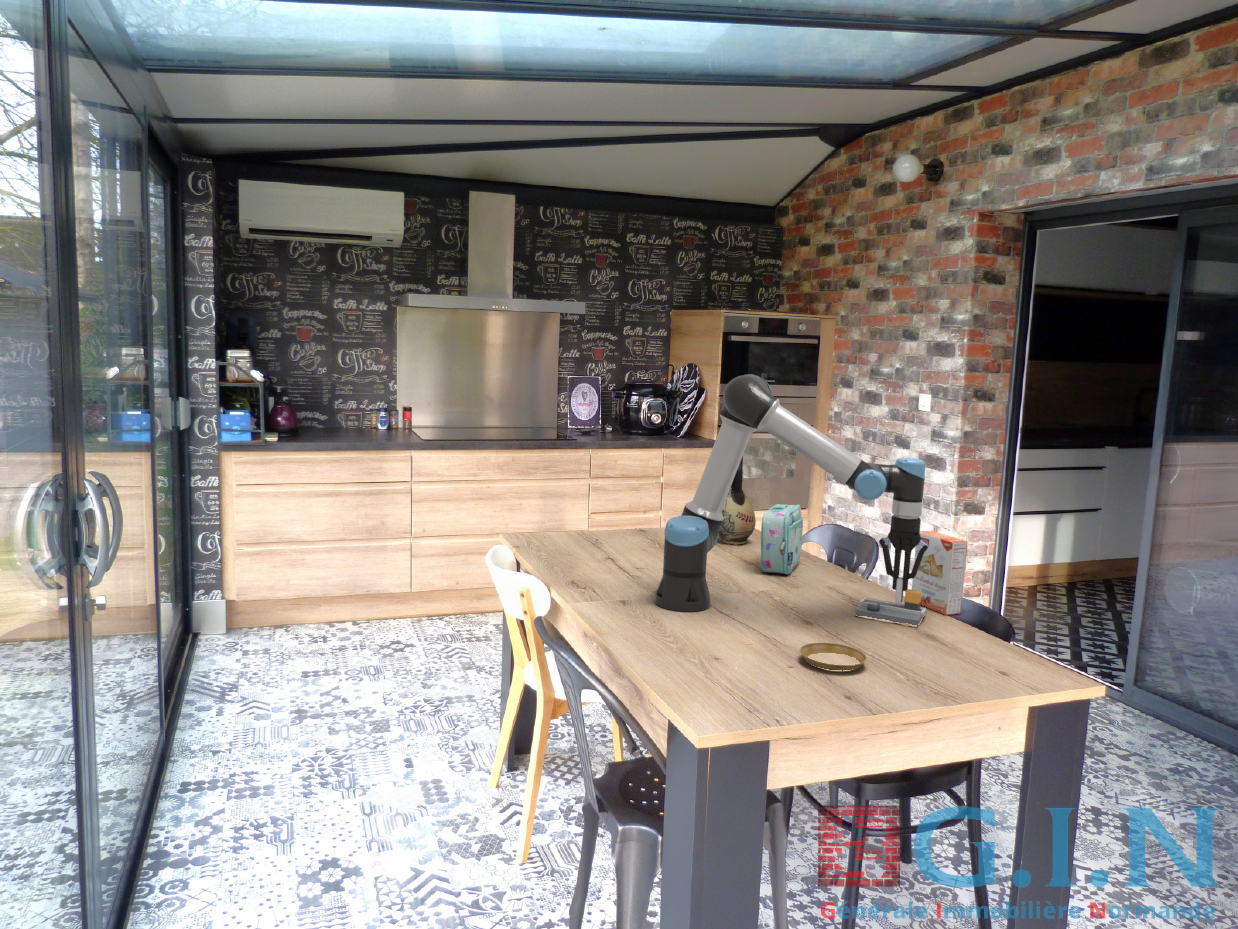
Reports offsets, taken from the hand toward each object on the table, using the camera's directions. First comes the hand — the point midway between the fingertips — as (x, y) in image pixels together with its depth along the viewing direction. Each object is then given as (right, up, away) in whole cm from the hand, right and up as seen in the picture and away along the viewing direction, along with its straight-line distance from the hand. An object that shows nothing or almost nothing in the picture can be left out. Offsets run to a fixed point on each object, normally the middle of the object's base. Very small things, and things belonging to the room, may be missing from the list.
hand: (898, 601), depth 238 cm
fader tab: (+3, -2, -1) cm, 4 cm away
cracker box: (+13, -4, +10) cm, 17 cm away
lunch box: (-23, +3, +49) cm, 54 cm away
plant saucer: (-27, -8, -39) cm, 49 cm away
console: (-2, -4, 0) cm, 4 cm away
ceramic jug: (-34, +8, +85) cm, 92 cm away
